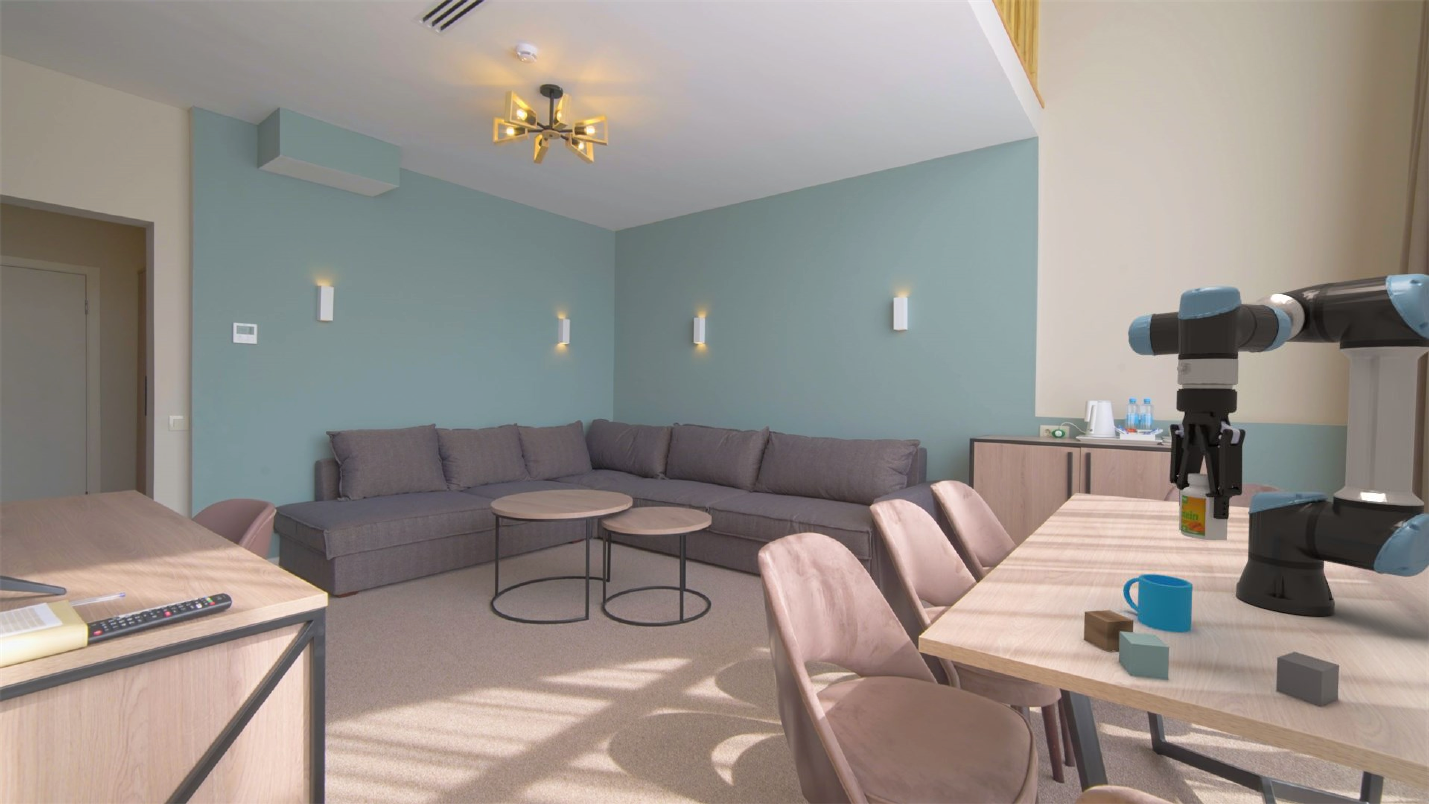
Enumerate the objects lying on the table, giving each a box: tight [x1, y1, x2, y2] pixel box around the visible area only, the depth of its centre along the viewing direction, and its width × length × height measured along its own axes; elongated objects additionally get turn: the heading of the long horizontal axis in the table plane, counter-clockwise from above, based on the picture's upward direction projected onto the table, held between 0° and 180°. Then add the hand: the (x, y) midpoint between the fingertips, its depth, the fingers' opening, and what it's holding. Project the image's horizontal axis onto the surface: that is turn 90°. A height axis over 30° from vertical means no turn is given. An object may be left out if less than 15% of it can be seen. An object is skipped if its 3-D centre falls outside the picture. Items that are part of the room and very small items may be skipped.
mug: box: [1122, 573, 1193, 633], centre depth 120 cm, size 12×8×8 cm
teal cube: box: [1118, 631, 1170, 681], centre depth 99 cm, size 5×5×5 cm
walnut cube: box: [1083, 609, 1134, 652], centre depth 109 cm, size 5×5×5 cm
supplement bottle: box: [1180, 473, 1210, 541], centre depth 100 cm, size 5×5×10 cm
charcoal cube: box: [1275, 651, 1340, 708], centre depth 91 cm, size 5×5×5 cm
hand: (1202, 534), depth 100 cm, fingers closed on supplement bottle, 5 cm apart
